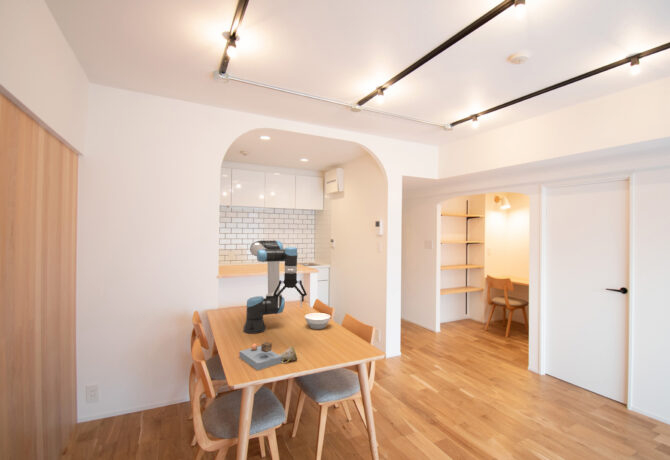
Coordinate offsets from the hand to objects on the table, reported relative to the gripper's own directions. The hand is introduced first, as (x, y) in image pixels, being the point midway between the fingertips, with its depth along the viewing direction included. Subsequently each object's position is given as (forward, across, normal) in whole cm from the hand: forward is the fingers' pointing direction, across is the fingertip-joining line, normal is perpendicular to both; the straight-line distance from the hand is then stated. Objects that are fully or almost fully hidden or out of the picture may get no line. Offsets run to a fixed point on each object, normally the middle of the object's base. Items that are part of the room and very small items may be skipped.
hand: (289, 307), depth 188 cm
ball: (+19, -20, -11) cm, 30 cm away
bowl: (+25, +21, +40) cm, 52 cm away
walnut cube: (+21, -13, -12) cm, 28 cm away
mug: (+25, -1, -19) cm, 31 cm away
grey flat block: (+25, -16, -17) cm, 34 cm away
